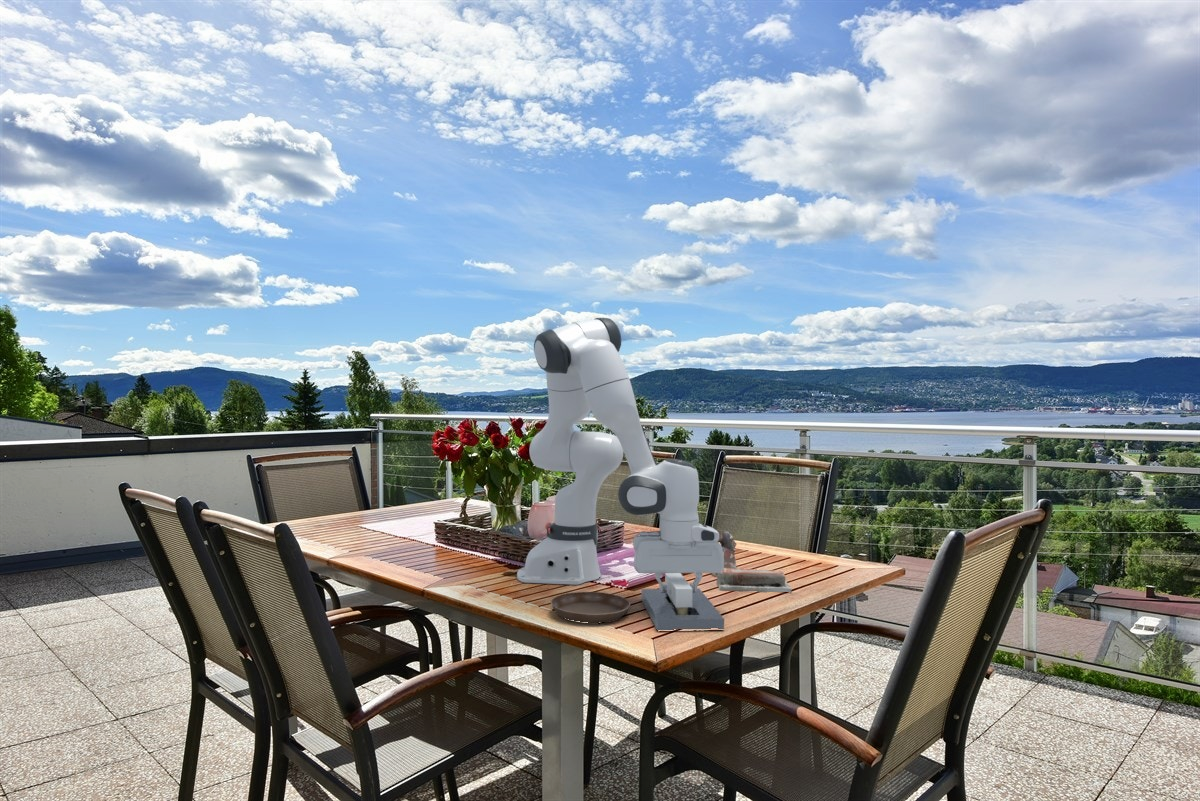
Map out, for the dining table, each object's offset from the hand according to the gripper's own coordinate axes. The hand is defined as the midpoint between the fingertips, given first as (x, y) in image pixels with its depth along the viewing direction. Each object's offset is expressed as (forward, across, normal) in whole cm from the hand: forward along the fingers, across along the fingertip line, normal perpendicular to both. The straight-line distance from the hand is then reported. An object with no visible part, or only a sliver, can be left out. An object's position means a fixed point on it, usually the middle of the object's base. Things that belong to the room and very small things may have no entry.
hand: (678, 592), depth 166 cm
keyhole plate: (+4, 0, -2) cm, 5 cm away
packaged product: (+5, +23, +20) cm, 32 cm away
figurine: (+5, +19, +33) cm, 38 cm away
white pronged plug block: (+4, 0, 0) cm, 4 cm away
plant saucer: (+5, -20, -1) cm, 21 cm away
